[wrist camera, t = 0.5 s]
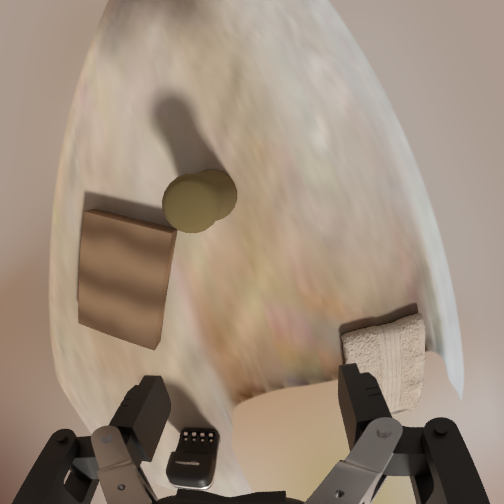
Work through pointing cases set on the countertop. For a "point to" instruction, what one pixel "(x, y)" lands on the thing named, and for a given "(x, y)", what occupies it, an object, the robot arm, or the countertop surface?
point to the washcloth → (391, 359)
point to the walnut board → (124, 276)
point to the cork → (199, 200)
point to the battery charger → (194, 459)
